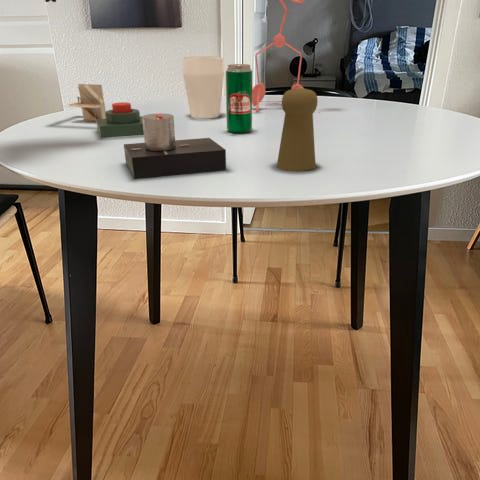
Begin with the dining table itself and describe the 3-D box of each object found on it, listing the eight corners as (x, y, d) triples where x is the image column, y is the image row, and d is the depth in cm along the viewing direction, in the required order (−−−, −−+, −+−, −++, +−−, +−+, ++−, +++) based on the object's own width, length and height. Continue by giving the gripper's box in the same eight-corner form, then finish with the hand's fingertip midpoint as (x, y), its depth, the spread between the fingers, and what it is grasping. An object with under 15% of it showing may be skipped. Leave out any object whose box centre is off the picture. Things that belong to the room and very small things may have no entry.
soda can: (226, 134, 98) (225, 66, 92) (226, 129, 102) (225, 63, 96) (252, 134, 98) (253, 66, 92) (251, 128, 103) (251, 63, 96)
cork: (323, 167, 77) (329, 89, 71) (291, 173, 74) (295, 93, 69) (300, 159, 81) (304, 85, 76) (269, 164, 79) (271, 88, 73)
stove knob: (142, 145, 77) (139, 112, 74) (172, 143, 78) (169, 110, 76) (148, 152, 73) (144, 117, 71) (178, 149, 74) (176, 115, 72)
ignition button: (114, 115, 96) (112, 105, 95) (112, 112, 99) (110, 102, 98) (132, 114, 97) (131, 104, 96) (130, 111, 100) (129, 101, 99)
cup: (210, 111, 121) (208, 55, 114) (232, 117, 114) (231, 58, 108) (178, 115, 116) (174, 57, 110) (199, 121, 110) (196, 60, 103)
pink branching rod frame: (329, 115, 116) (345, -76, 97) (223, 111, 121) (219, -71, 103) (335, 104, 128) (350, -66, 110) (238, 101, 134) (237, -62, 115)
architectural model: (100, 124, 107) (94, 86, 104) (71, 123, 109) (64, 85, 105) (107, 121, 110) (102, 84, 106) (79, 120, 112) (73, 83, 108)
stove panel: (134, 178, 72) (131, 156, 71) (126, 163, 80) (123, 143, 78) (226, 170, 76) (225, 148, 74) (210, 156, 83) (209, 136, 82)
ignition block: (101, 138, 96) (98, 116, 93) (97, 130, 102) (94, 109, 100) (152, 134, 98) (150, 113, 96) (146, 127, 105) (144, 106, 103)
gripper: (78, -146, 73) (97, 2, 83) (-33, -155, 69) (1, 2, 79) (81, -160, 67) (101, 1, 77) (-41, -171, 63) (-3, 1, 73)
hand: (50, 1), depth 78 cm, fingers closed
